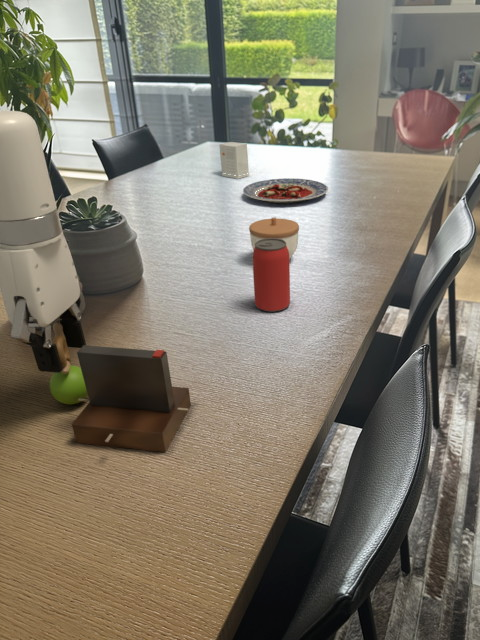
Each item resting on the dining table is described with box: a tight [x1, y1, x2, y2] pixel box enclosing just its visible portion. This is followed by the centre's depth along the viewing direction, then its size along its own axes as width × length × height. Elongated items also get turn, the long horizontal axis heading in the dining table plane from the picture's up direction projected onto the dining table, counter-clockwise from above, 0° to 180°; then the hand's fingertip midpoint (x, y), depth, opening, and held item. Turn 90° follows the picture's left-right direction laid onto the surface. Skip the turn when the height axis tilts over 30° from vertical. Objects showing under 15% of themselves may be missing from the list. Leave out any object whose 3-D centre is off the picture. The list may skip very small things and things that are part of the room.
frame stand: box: [71, 386, 192, 453], centre depth 72 cm, size 15×15×3 cm
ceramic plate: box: [242, 178, 329, 204], centre depth 167 cm, size 26×26×3 cm
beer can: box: [251, 238, 291, 313], centre depth 99 cm, size 7×7×12 cm
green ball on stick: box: [49, 316, 88, 405], centre depth 75 cm, size 5×6×12 cm
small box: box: [219, 141, 250, 180], centre depth 188 cm, size 8×6×10 cm
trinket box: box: [248, 217, 300, 259], centre depth 120 cm, size 11×11×9 cm
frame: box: [76, 344, 175, 413], centre depth 69 cm, size 11×2×8 cm, turn 79°
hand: (63, 357), depth 75 cm, fingers closed on green ball on stick, 5 cm apart
